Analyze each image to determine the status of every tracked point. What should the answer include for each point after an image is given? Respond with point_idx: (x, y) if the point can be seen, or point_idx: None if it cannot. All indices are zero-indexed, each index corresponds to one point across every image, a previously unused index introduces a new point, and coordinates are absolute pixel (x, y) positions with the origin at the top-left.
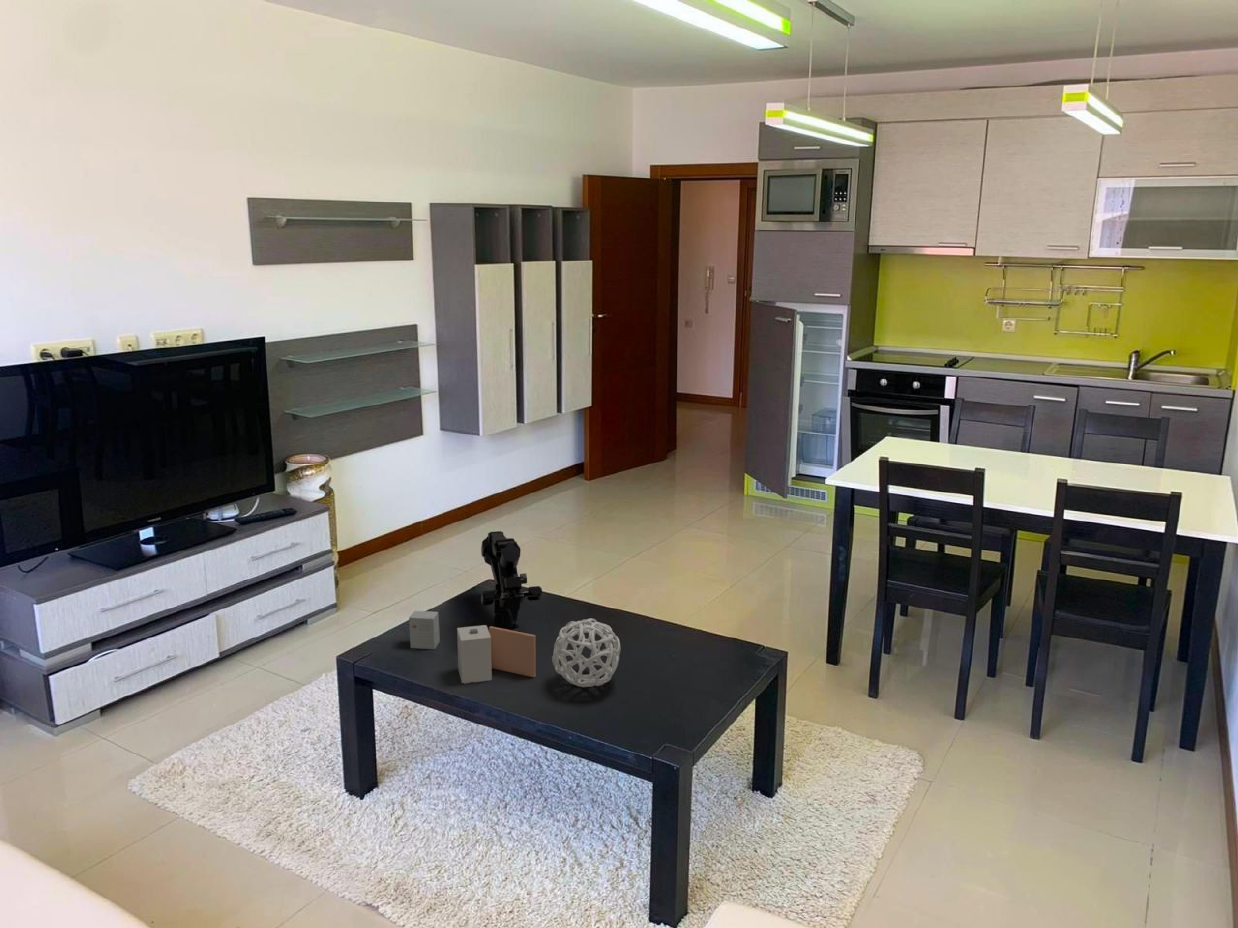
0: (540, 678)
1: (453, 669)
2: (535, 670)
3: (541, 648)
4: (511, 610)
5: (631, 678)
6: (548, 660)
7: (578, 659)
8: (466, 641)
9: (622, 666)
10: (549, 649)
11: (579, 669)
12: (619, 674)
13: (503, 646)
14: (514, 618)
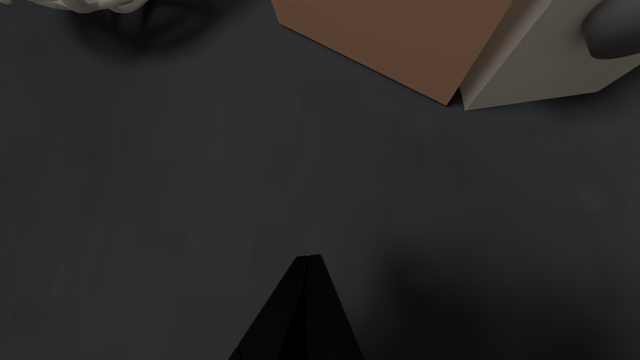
0: (266, 13)
1: (621, 97)
2: (273, 5)
3: (219, 254)
4: (333, 339)
5: (14, 5)
6: (214, 139)
7: (97, 3)
8: None
9: (3, 75)
10: (189, 238)
11: (125, 8)
12: (33, 28)
13: None
14: (313, 264)
